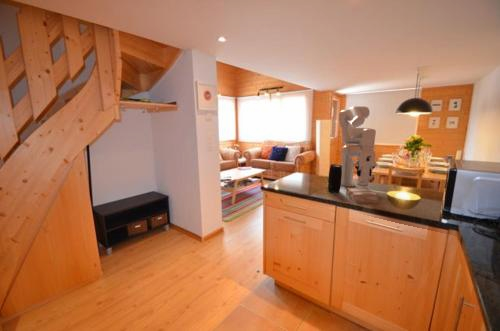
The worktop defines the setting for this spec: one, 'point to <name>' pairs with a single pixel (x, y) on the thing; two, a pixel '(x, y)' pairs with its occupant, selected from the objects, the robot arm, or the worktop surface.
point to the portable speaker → (335, 178)
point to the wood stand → (361, 195)
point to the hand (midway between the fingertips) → (363, 175)
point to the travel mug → (364, 174)
